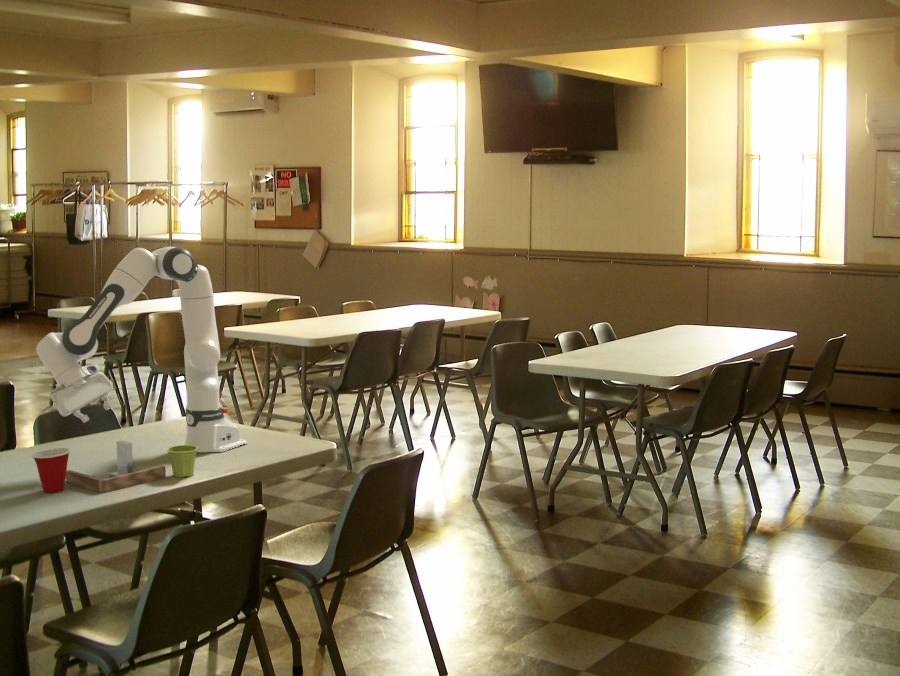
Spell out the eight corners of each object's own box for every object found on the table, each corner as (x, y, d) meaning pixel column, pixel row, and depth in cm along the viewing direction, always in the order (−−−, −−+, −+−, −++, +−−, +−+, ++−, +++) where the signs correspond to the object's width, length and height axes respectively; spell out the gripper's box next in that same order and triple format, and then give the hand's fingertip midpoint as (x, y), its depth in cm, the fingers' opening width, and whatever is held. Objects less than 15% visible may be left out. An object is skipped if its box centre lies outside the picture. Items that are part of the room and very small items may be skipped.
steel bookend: (123, 475, 337) (122, 440, 335) (133, 477, 334) (131, 442, 332) (109, 478, 333) (108, 443, 331) (119, 480, 330) (117, 445, 328)
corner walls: (129, 467, 347) (128, 457, 347) (165, 477, 336) (165, 466, 335) (65, 482, 329) (65, 471, 329) (102, 492, 318) (101, 481, 317)
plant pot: (190, 480, 333) (190, 452, 332) (162, 478, 335) (161, 451, 334) (203, 472, 342) (202, 445, 341) (176, 471, 344) (175, 444, 343)
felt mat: (128, 468, 347) (128, 467, 346) (159, 476, 337) (159, 475, 337) (73, 481, 331) (73, 479, 331) (104, 489, 321) (104, 488, 321)
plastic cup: (39, 486, 325) (37, 447, 324) (76, 485, 326) (74, 446, 325) (28, 495, 314) (26, 455, 313) (66, 495, 315) (64, 455, 314)
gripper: (51, 388, 333) (77, 424, 333) (100, 363, 349) (125, 398, 349) (42, 396, 337) (68, 432, 337) (92, 372, 353) (116, 406, 353)
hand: (98, 414), depth 343 cm, fingers open, 8 cm apart
